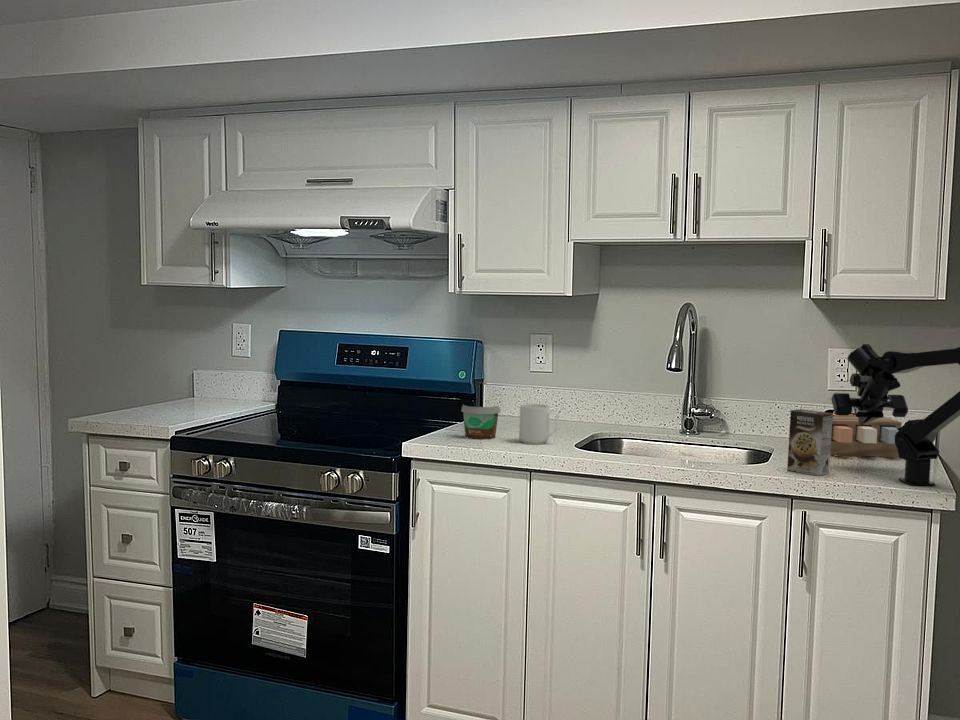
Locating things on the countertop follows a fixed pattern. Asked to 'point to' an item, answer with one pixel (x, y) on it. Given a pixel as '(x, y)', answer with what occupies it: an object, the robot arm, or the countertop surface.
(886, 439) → the key slate
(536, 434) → the mug
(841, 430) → the key terracotta
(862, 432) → the key ivory
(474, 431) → the food container
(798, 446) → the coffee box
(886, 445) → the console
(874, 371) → the robot arm
